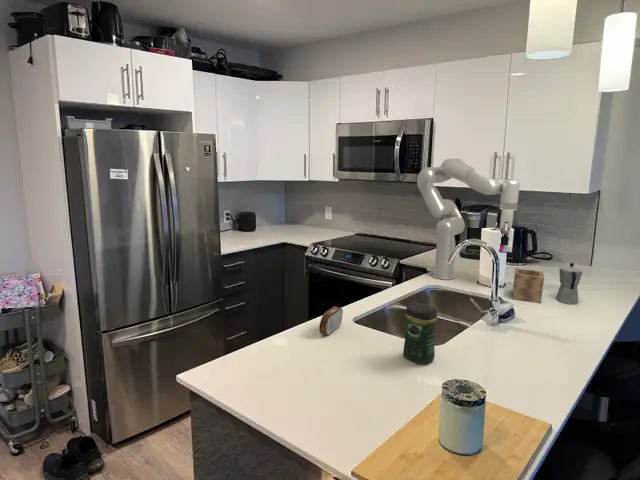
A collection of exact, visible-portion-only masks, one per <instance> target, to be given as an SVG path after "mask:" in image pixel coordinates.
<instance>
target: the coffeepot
mask: <svg viewBox="0 0 640 480" xmlns="http://www.w3.org/2000/svg"><path fill="white" fill-rule="evenodd" d="M574 265H575V263H573V262H570V263H569V266H561V267H559V271H558V272H559V282H560V286H559V287H558V290H557V293H556V297H555V301H557V302H559V303H562V304H565V305H577V304H578V303H579V291H578V290H579V289H578V286H579V284H580V283H581V282H580V281H581V278H582V275H583V272H584V271H583V269H580V268H577V267H574Z"/></svg>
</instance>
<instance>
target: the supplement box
mask: <svg viewBox="0 0 640 480" xmlns="http://www.w3.org/2000/svg"><path fill="white" fill-rule="evenodd" d="M508 228H509V227H508ZM498 229H499V230H500V226H498V227H497V230H498ZM509 229H510V228H509ZM504 230H505V229H504ZM500 232H501V234H502V233H503V229H502V230H501V231H500ZM514 232H515V229H514V228H513V227H511V231H509V236H508V237H509V241H508V245H501V244H500V249H499V252H498V253H500V254H501V253H507V254H511V253H512V252H513V243H514Z"/></svg>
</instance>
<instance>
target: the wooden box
mask: <svg viewBox="0 0 640 480" xmlns="http://www.w3.org/2000/svg"><path fill="white" fill-rule="evenodd" d="M514 269H515V271H514V276H513V277H514V279H513V287H512V300H514V301H521V302H528V303H535V304H541V303H542V297H543V287H544V280H545V276H544V273H543V270H535V269H525V268H514Z"/></svg>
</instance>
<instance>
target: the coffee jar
mask: <svg viewBox="0 0 640 480" xmlns="http://www.w3.org/2000/svg"><path fill="white" fill-rule="evenodd" d="M437 310H438V309H437V307H435V306H431V305H428V304H425V303H422V302H418V301H416V300H415V301H412V302H409V303H407V305H406V309H405V314H404V315H405V319H406V326H405V327H406V329H405V338H404V344H403V349H402V350H403V351H402V354H403V358H404V359H407V360H408V361H411V362H413V363H416V364H420V365H425V364H430V363H432V362H433V361H434V359H435V324H436V323H437V319H438V313H437V312H438V311H437Z"/></svg>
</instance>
